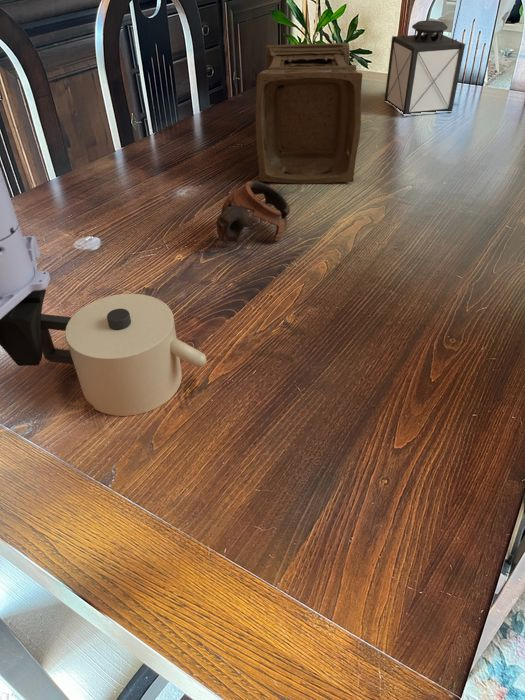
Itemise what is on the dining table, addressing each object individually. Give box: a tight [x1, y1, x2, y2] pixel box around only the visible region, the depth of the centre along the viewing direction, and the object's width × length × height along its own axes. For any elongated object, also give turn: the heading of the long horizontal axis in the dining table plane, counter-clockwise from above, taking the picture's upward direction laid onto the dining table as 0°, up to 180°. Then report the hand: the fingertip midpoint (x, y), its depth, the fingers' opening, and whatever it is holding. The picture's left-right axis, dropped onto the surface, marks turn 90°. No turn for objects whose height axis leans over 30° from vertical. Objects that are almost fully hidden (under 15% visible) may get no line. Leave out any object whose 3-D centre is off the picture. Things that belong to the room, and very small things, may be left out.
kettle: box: [41, 293, 207, 417], centre depth 52 cm, size 17×10×8 cm, turn 78°
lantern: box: [384, 0, 466, 114], centre depth 114 cm, size 11×11×28 cm
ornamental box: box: [255, 42, 363, 185], centre depth 100 cm, size 35×18×18 cm, turn 177°
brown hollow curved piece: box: [215, 180, 291, 243], centre depth 77 cm, size 12×10×8 cm
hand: (30, 361), depth 52 cm, fingers closed
